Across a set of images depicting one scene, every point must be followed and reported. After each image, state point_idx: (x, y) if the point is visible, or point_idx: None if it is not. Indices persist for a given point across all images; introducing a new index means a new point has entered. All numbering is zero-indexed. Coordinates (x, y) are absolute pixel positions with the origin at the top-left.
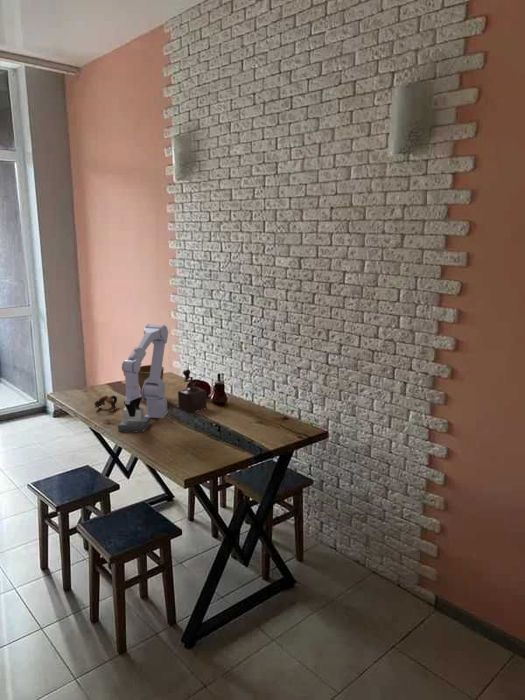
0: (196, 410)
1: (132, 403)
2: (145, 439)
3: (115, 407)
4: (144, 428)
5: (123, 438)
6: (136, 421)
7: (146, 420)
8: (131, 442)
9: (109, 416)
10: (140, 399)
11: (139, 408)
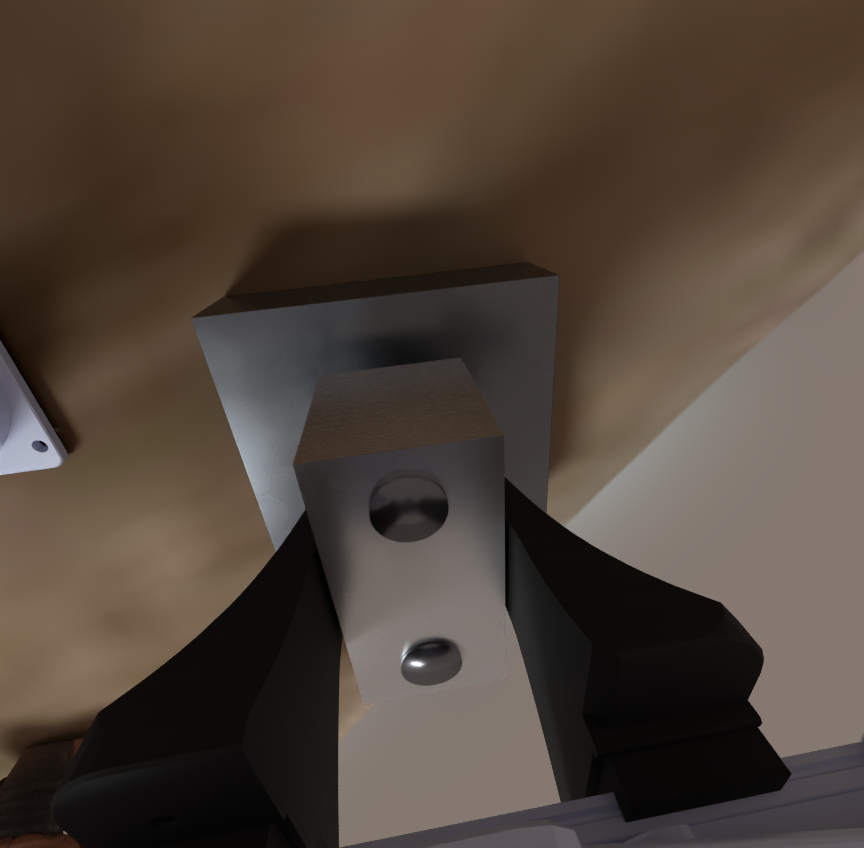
0: None
1: (745, 691)
2: (751, 110)
3: (34, 760)
4: (449, 274)
5: (690, 379)
6: None
7: (327, 313)
8: (809, 250)
9: None
10: (251, 707)
11: (421, 493)
